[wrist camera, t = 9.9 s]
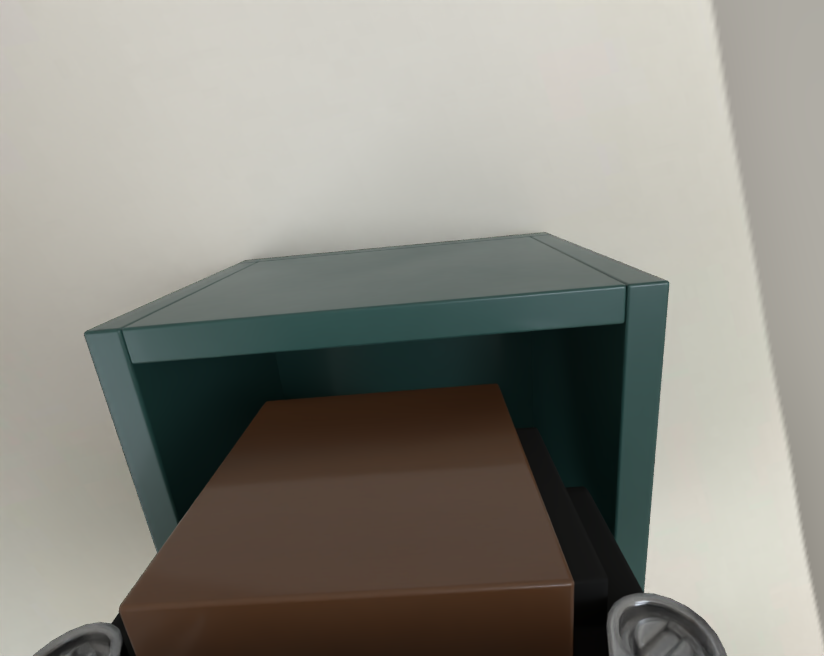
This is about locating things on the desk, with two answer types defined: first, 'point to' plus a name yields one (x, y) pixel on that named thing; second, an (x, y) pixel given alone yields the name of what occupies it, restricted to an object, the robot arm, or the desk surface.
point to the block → (363, 538)
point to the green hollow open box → (398, 359)
